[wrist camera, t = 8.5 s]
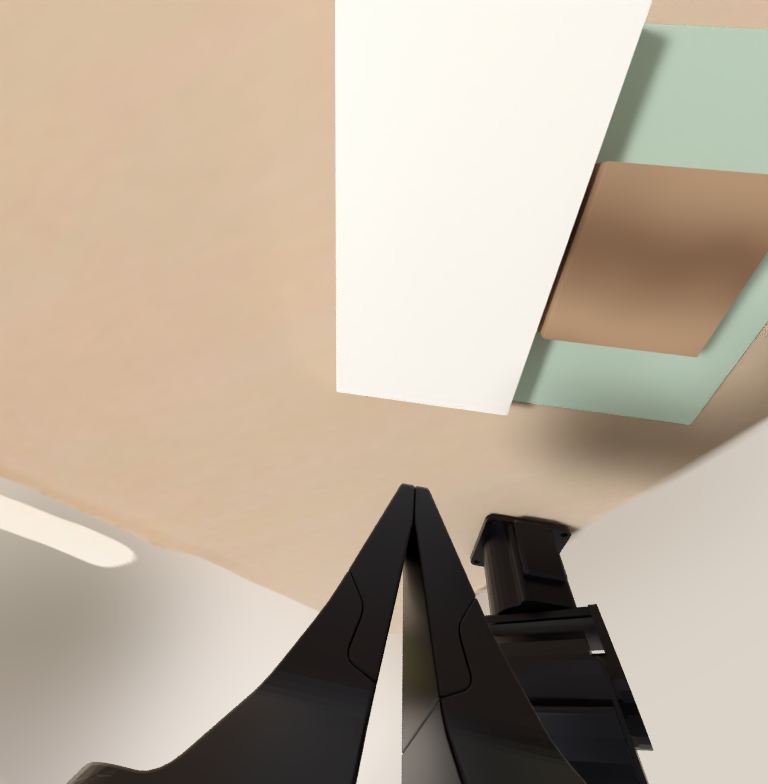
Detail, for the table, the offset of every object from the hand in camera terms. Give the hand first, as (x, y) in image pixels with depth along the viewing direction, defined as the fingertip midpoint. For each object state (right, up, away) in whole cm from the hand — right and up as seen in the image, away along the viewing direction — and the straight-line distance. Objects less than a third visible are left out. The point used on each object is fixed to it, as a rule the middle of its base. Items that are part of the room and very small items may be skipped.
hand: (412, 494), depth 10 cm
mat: (+13, +9, +6) cm, 16 cm away
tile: (+11, +9, +5) cm, 15 cm away
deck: (+2, +10, +6) cm, 12 cm away
